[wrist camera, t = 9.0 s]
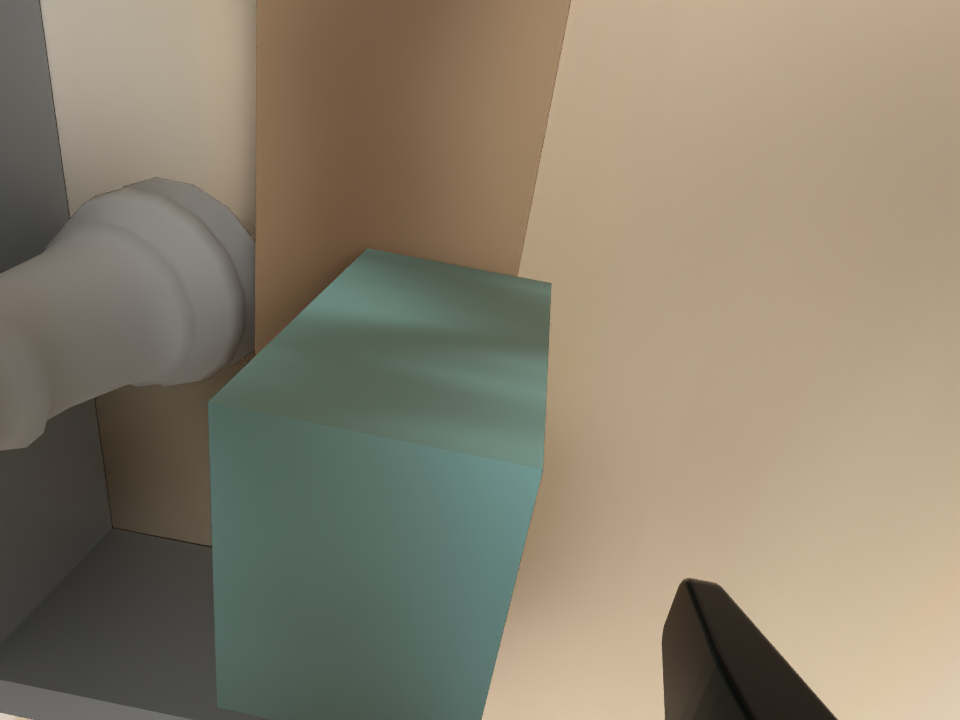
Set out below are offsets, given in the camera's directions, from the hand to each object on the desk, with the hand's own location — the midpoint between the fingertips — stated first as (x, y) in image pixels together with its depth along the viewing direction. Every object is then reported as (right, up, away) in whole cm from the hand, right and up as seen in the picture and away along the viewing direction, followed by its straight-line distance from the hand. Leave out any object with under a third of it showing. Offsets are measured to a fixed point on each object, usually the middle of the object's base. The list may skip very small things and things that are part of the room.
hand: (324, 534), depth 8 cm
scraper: (+1, +3, +7) cm, 8 cm away
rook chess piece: (-5, +4, +7) cm, 9 cm away
